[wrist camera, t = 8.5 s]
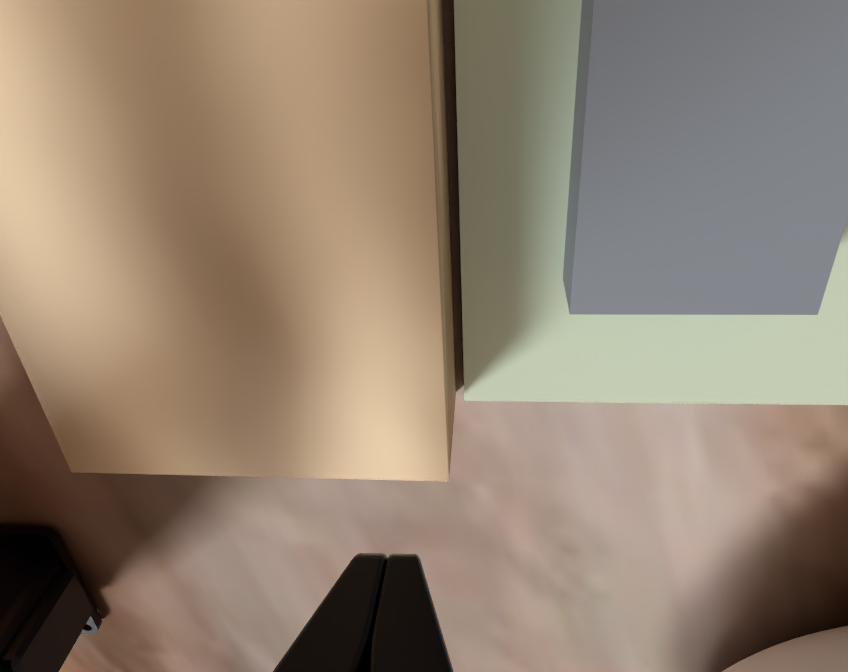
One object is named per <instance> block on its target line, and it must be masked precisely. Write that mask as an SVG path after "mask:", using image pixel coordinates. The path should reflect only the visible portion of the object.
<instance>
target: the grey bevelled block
mask: <svg viewBox="0 0 848 672" xmlns="http://www.w3.org/2000/svg"><path fill="white" fill-rule="evenodd" d="M847 218H848V0H582V7H581V21H580V36H579V50H578V65H577V79H576V94H575V108H574V122H573V137H572V151H571V166H570V180H569V195H568V209H567V224H566V238H565V252H564V267H563V283H564V288H565V293H566V298H567V303H568V309H569V314H585V315H818V313H819V309H820V306H821V303H822V299H823V296H824V293H825V290H826V286H827V283H828V280H829V277H830V273H831V270H832V267H833V264H834V260H835V257H836V254H837V251H838V247H839V244H840V241H841V238H842V234H843V231H844V228H845V225H846V221H847Z"/></svg>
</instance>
